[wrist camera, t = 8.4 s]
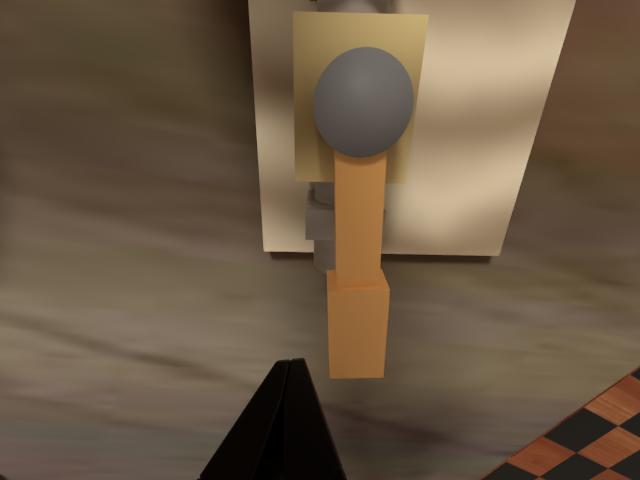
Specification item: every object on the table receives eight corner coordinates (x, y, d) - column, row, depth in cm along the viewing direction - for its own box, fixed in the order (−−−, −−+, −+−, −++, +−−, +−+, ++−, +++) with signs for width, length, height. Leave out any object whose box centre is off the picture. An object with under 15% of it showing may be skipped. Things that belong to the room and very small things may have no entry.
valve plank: (246, -107, 14) (187, -281, 8) (587, -98, 14) (800, -261, 8) (266, 243, 21) (244, 299, 15) (489, 248, 21) (558, 305, 15)
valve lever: (403, 54, 10) (418, 44, 9) (382, 349, 16) (389, 377, 14) (312, 58, 10) (310, 49, 9) (323, 351, 16) (323, 378, 14)
